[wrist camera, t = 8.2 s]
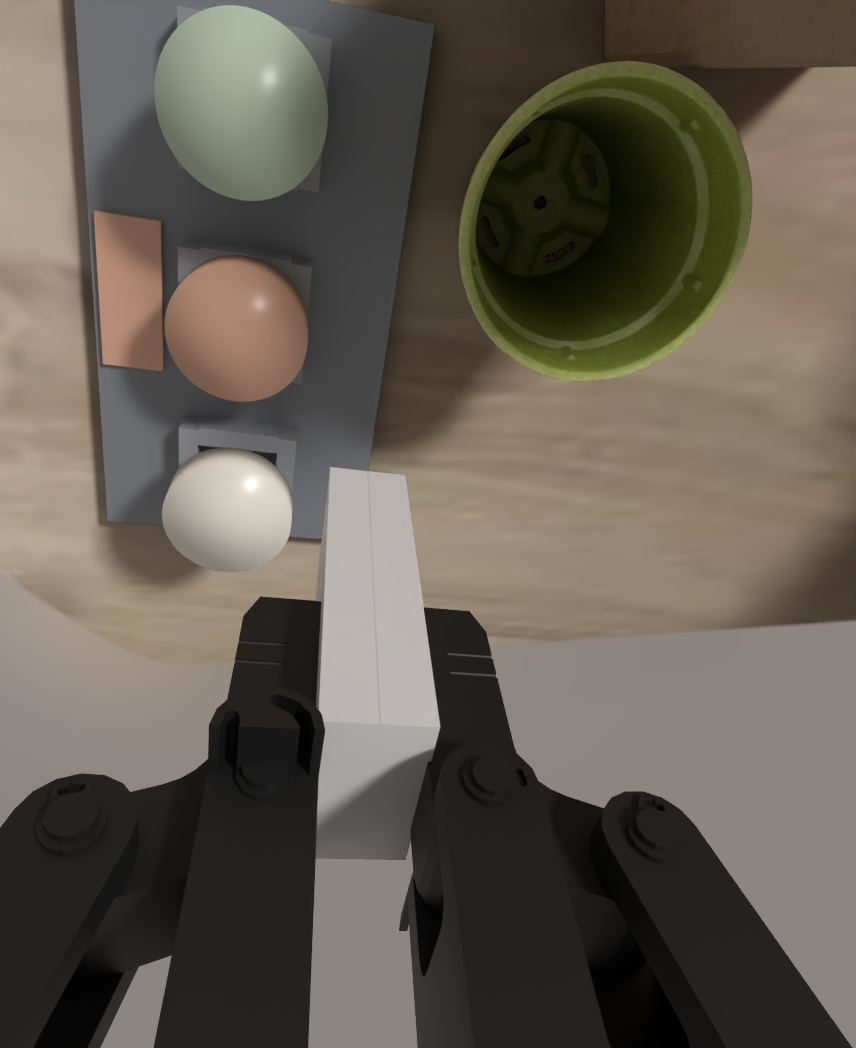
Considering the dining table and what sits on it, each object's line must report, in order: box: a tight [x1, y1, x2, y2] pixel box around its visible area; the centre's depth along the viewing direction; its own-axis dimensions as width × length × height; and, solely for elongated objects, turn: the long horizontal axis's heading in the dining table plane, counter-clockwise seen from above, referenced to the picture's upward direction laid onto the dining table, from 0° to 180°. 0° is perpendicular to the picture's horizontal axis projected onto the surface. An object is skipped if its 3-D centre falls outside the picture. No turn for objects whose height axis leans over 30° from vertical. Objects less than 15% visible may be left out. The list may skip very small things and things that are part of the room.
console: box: [74, 0, 435, 539], centre depth 30 cm, size 22×12×2 cm, turn 170°
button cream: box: [162, 447, 293, 572], centre depth 31 cm, size 5×5×3 cm
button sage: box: [154, 5, 328, 201], centre depth 23 cm, size 5×5×3 cm
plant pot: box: [458, 61, 752, 382], centre depth 26 cm, size 9×9×9 cm
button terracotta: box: [164, 255, 309, 402], centre depth 28 cm, size 5×5×3 cm
